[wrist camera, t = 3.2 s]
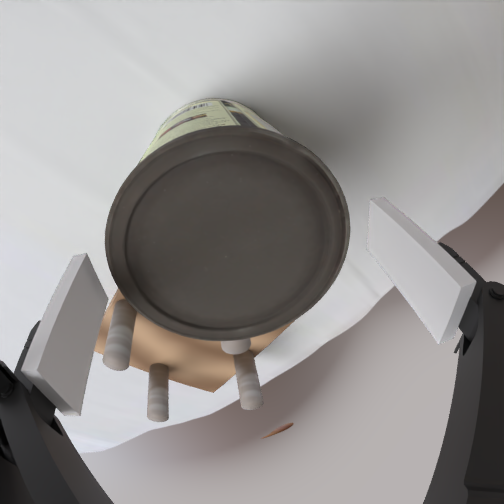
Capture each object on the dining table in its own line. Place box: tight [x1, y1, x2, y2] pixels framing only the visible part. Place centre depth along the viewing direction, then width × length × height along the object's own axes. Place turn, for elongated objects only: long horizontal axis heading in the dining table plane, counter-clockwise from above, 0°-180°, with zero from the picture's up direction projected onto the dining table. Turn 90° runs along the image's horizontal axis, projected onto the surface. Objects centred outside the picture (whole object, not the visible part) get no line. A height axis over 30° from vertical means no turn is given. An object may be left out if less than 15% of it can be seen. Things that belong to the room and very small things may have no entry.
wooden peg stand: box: [94, 288, 295, 422], centre depth 30 cm, size 18×18×8 cm
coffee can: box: [105, 99, 350, 341], centre depth 18 cm, size 10×10×14 cm
